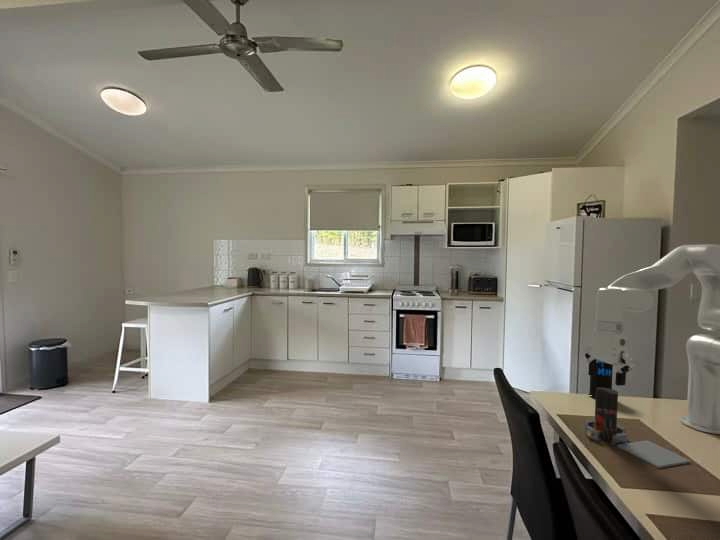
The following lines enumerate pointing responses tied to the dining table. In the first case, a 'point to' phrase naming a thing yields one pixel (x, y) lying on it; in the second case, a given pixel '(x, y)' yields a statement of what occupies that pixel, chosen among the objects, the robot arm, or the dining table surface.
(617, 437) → the collar
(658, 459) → the coaster
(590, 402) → the dining table surface
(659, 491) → the dining table surface
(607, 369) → the aerosol can
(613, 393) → the deodorant
